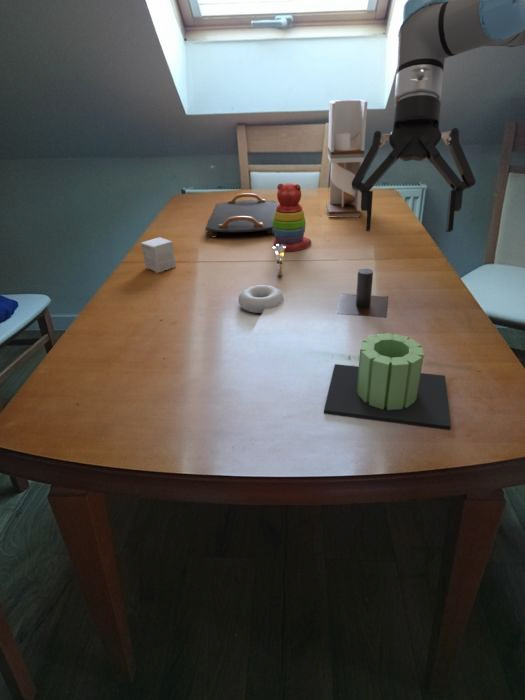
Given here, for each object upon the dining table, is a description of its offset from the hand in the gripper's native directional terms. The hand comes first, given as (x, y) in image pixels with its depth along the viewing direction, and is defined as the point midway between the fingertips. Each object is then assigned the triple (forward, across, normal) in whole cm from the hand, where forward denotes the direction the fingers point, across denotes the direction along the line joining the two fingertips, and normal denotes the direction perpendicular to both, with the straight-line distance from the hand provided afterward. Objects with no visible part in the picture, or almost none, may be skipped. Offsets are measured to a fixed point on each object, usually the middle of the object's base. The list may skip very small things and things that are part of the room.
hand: (407, 230), depth 81 cm
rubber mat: (+27, -2, -12) cm, 30 cm away
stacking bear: (-1, -29, +51) cm, 59 cm away
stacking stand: (+15, -7, +14) cm, 22 cm away
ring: (+8, -28, +31) cm, 42 cm away
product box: (+7, -61, +32) cm, 69 cm away
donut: (+15, -29, +14) cm, 36 cm away
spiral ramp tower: (-16, -17, +85) cm, 88 cm away
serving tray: (-11, -49, +72) cm, 88 cm away
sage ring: (+26, -2, -13) cm, 29 cm away
